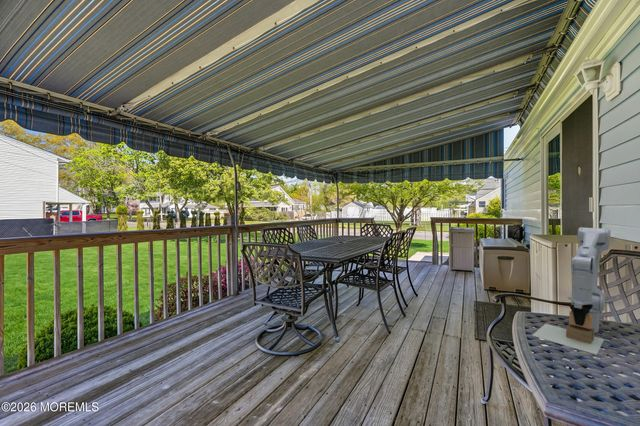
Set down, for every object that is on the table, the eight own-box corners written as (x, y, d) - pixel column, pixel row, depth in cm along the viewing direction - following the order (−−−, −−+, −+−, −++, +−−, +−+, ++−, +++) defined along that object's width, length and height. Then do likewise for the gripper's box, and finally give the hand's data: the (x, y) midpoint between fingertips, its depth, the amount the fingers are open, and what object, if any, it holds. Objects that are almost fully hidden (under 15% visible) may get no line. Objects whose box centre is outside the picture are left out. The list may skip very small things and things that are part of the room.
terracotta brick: (571, 321, 113) (571, 309, 113) (592, 326, 108) (592, 314, 108) (569, 323, 110) (569, 312, 110) (590, 329, 105) (590, 316, 105)
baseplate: (545, 325, 123) (545, 323, 123) (604, 341, 109) (604, 339, 109) (531, 337, 110) (531, 335, 110) (596, 356, 96) (596, 354, 96)
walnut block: (569, 332, 114) (570, 322, 114) (593, 339, 109) (594, 328, 109) (565, 337, 110) (566, 326, 110) (590, 344, 104) (591, 333, 104)
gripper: (572, 283, 117) (570, 316, 117) (564, 288, 108) (562, 324, 108) (595, 287, 111) (594, 321, 112) (589, 292, 102) (588, 330, 102)
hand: (580, 323), depth 109 cm, fingers closed on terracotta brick, 4 cm apart
